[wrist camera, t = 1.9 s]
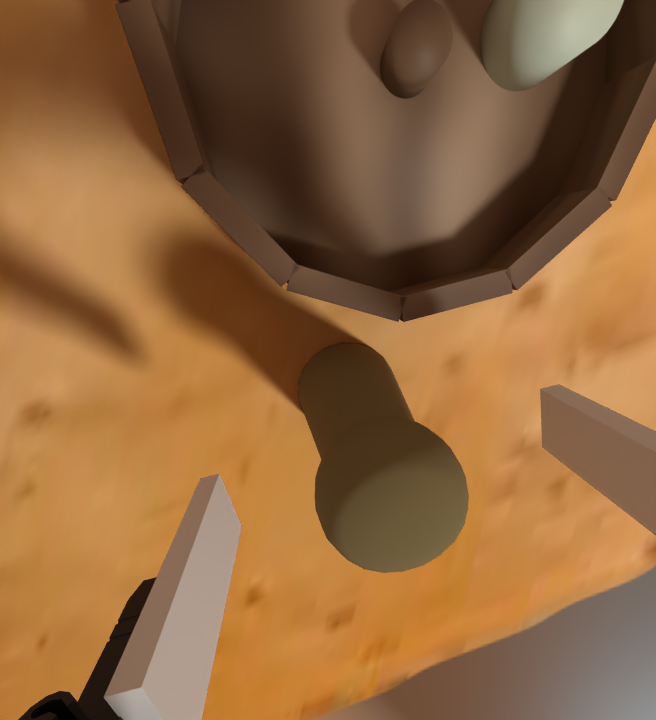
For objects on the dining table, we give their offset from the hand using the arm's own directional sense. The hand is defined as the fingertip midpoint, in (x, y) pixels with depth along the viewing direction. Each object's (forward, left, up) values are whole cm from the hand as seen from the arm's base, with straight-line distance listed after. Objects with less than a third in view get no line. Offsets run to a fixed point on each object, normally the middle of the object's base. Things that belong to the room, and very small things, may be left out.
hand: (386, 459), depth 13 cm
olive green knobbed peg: (0, 0, -8) cm, 8 cm away
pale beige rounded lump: (+11, +15, -7) cm, 20 cm away
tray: (+6, +15, -8) cm, 18 cm away
